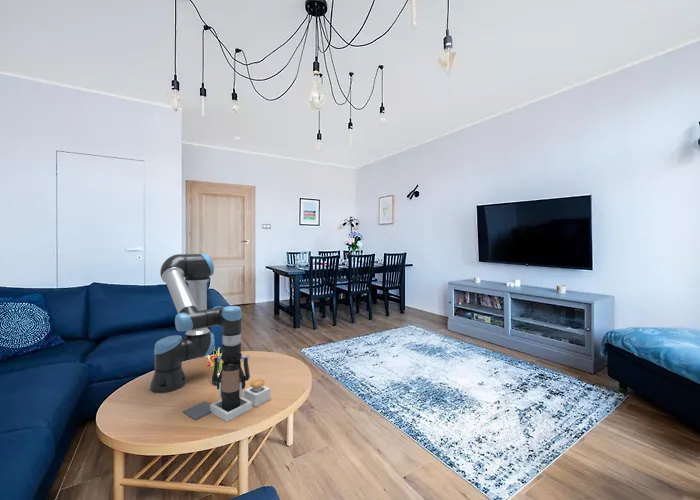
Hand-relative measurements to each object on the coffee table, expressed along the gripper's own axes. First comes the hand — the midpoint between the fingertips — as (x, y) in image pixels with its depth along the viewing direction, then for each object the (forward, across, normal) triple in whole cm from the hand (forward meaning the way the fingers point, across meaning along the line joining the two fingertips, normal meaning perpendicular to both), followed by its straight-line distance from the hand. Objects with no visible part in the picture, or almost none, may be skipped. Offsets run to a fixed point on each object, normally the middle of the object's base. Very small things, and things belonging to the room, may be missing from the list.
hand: (231, 396), depth 133 cm
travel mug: (+5, 0, 0) cm, 5 cm away
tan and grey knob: (+5, +9, +8) cm, 13 cm away
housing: (+6, +9, +8) cm, 14 cm away
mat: (+6, -13, 0) cm, 14 cm away
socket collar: (+6, 0, 0) cm, 6 cm away
